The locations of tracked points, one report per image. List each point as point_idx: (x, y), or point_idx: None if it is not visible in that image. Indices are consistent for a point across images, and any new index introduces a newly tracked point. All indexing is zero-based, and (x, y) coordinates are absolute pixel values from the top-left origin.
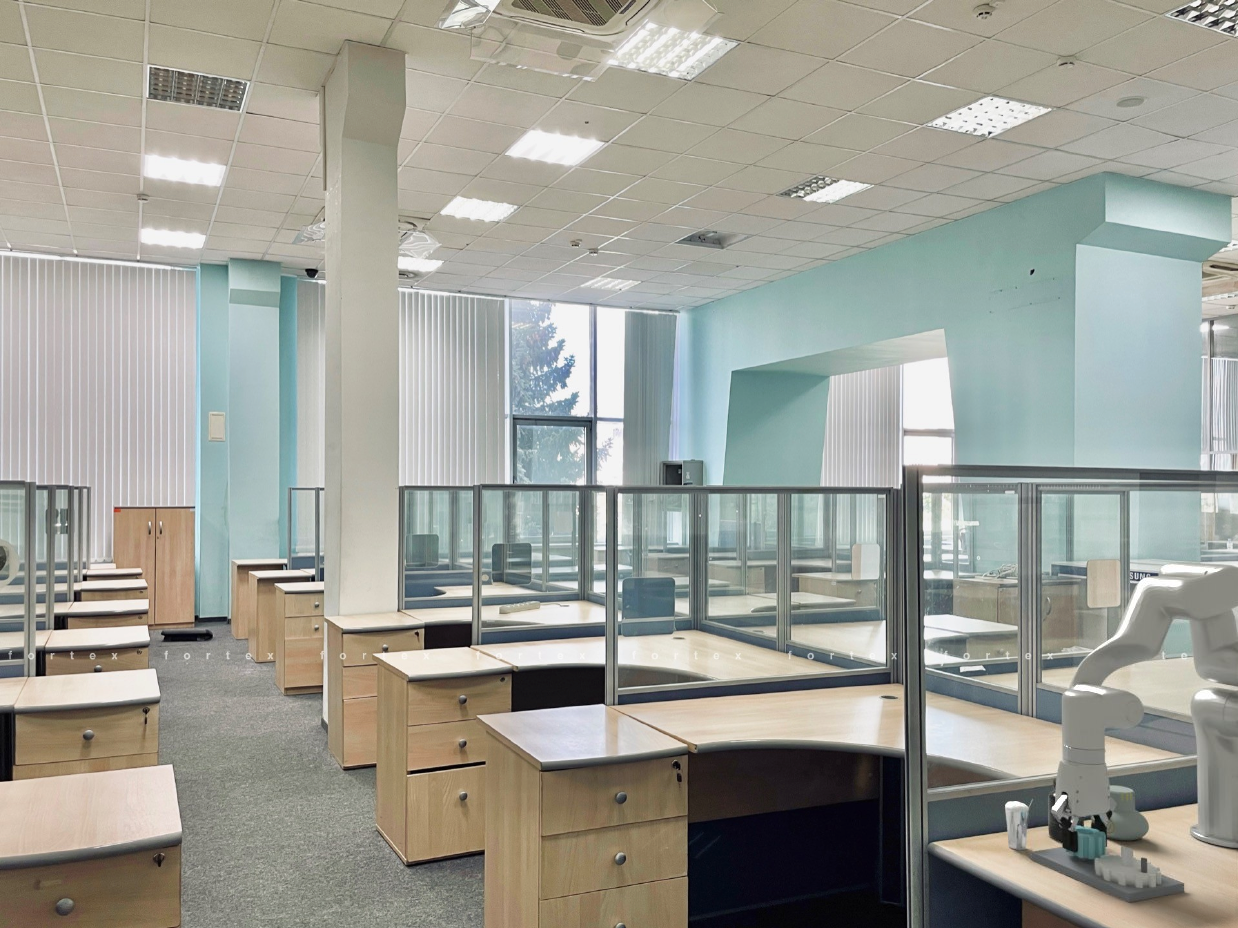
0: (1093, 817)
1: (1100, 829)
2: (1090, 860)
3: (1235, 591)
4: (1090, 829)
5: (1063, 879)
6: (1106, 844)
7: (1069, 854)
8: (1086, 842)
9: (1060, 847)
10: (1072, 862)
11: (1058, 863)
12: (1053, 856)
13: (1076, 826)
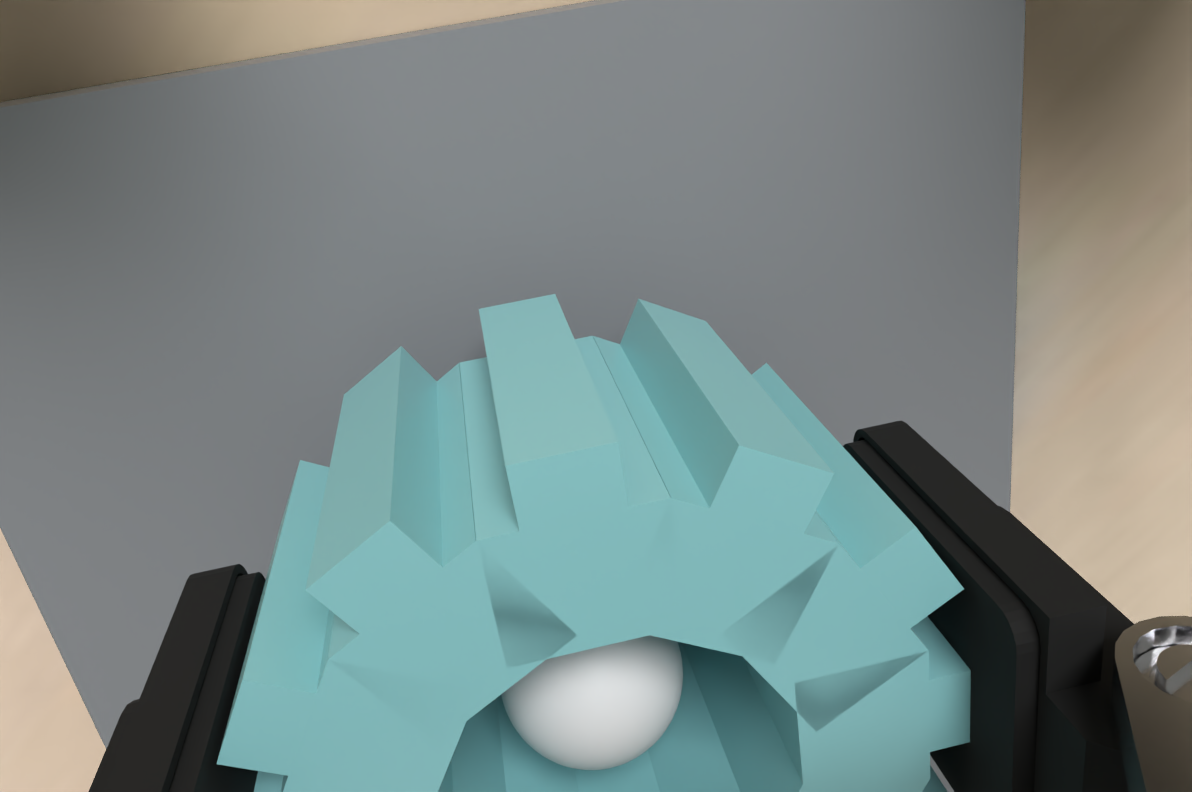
0: (1128, 773)
1: (976, 778)
2: None
3: None
4: (834, 699)
5: (14, 771)
6: None
7: (445, 347)
8: None
9: (509, 36)
10: None
11: (52, 634)
12: (133, 388)
13: (689, 516)
